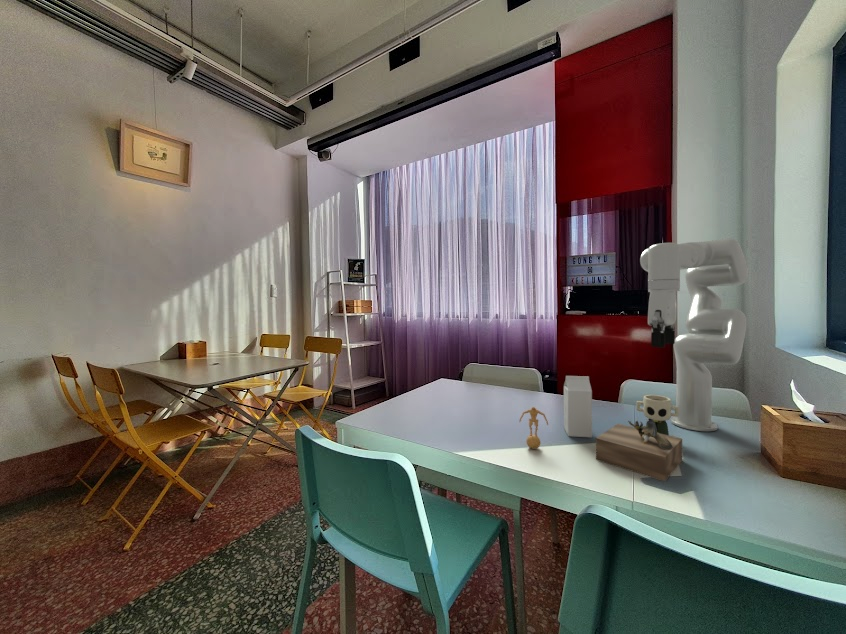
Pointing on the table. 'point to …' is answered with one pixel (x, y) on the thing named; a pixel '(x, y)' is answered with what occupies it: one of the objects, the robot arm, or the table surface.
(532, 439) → the figurine
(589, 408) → the milk carton
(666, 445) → the eagle figurine
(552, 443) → the table surface
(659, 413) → the character mug
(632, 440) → the walnut block
